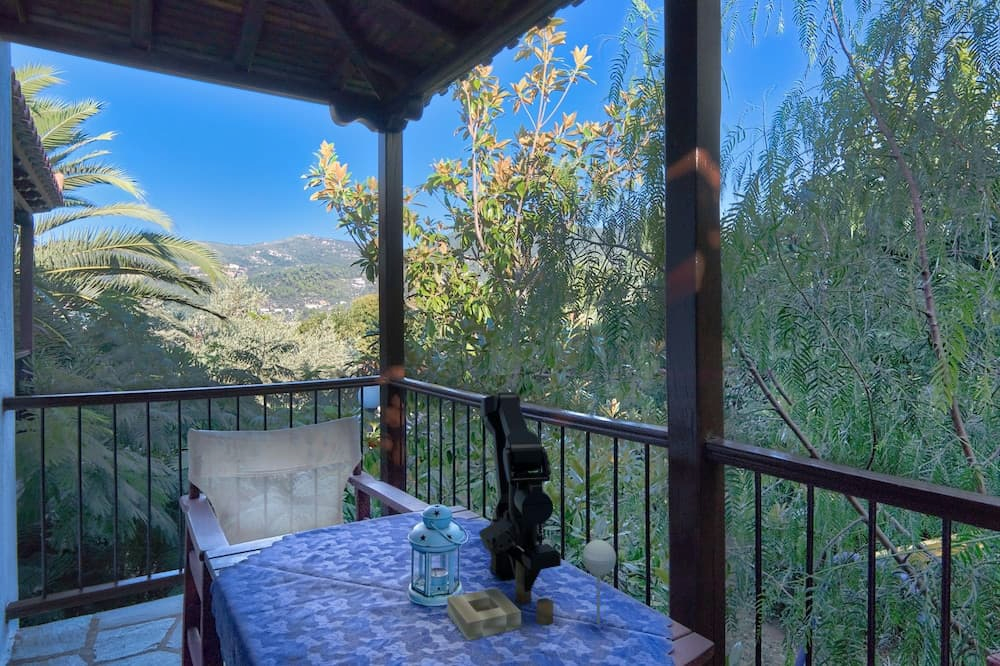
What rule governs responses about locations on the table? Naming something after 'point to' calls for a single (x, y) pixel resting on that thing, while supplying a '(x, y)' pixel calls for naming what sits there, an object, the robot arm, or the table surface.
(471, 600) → the bored block
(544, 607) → the short pin
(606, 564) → the lollipop
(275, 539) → the table surface
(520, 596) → the long pin
